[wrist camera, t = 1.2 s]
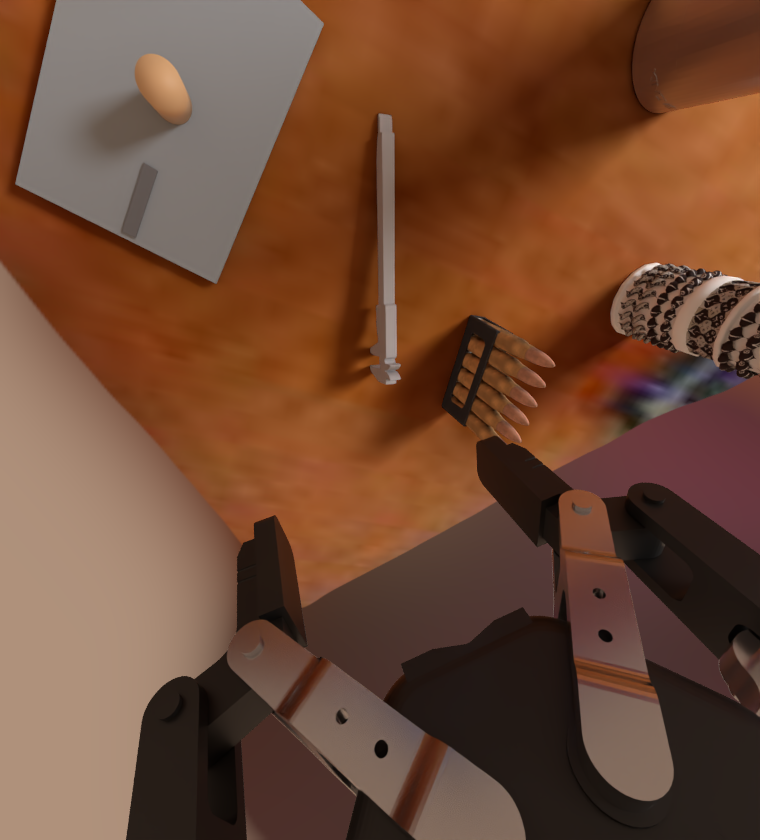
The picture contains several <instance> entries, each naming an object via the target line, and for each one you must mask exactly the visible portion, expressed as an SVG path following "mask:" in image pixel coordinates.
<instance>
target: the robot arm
mask: <svg viewBox="0 0 760 840" xmlns="http://www.w3.org/2000/svg"><path fill="white" fill-rule="evenodd" d="M632 77H633V84H634V89H635V93H636V95H637V97H638V100H639V102H640V103H641V104H642V105H643V107H644V108H645V109H647V110H649V111H650V112H653V113H664V112H669V111H674V110H679V109H684V108H689V107H693V106H698V105H703V104H709V103H714V102H718V101H723V100H728V99H733V98H737V97H742V96H747V95H752V94H756V93H760V0H651V2H650V4H649V6H648V8H647V10H646V12H645V14H644V16H643V19H642V22H641V25H640V27H639V30H638V33H637V37H636V42H635V46H634V52H633V62H632ZM476 449H477V472H478V476H479V478H480V481H481V482H482V484H483V485H484V487H485V488H486V489H487V490H488V491H489V492H490V494H491V495H492V496H493V497H494V498H495V499H496V500H497V502H498V503H499V504H500V505H501V506H502V507H503V508H504V510H505V511H506V512H507V513H508V514H509V515H510V517H511V518H512V519H513V520H514V521H515V522H516V523H517V525H518V526H519V527H520V528H521V529H522V530H523V531H524V533H525V534H526V535H527V536H528V537H529V538H530V539H531V541H532V542H533V543H534V544H535V545H536V546H537V547H539V546H541V545H543V544H546V543H548V544H549V545H550V546H551V547H552V567H553V568H552V570H553V591H554V611H553V617H547V616H529V615H528V614H527V613H526V611H525V610H524V608H520V609H518V610H516V611H514V612H512V613H509V614H507V615H505V616H503V617H501V618H499V619H496V620H494V621H493V622H492V623H491V624H490V625H489V626H488V627H487V628H485V629H484V630H483V631H482V632H481V633H480V634H479V635H478V636H477V637H475V638H474V639H473V640H472V641H471V642H470V643H468V644H464V645H458V646H451V647H445V648H438V649H432V650H430V651H428V652H426V653H424V654H421V655H419V656H417V657H415V658H413V659H411V660H409V661H406V662H404V663H402V664H401V666H402V669H403V672H404V675H402V676H401V677H400V678H399V679H398V680H397V681H396V682H395V683H394V685H393V686H392V687H391V689H390V690H389V691H388V693H387V694H386V696H385V698H384V700H383V701H382V700H381V699H380V698H378V697H377V696H376V695H374V694H373V693H371V692H370V691H369V690H368V689H366V688H365V687H364V686H362V685H361V684H359V683H358V682H357V681H355V680H354V679H353V678H351V677H350V676H349V675H347V674H346V673H345V672H343V671H342V670H341V669H339V668H338V667H337V666H335V665H334V664H333V663H331V662H330V661H328V660H327V659H325V658H323V657H320V658H317V657H315V656H314V655H312V654H311V653H310V652H309V651H307V650H306V649H305V647H307V646H308V645H307V639H306V633H305V626H304V620H303V614H302V607H301V601H300V594H299V588H298V582H297V575H296V569H295V562H294V557H293V553H292V549H291V546H290V544H289V541H288V539H287V537H286V535H285V533H284V531H283V529H282V527H281V525H280V523H279V521H278V519H277V517H276V516H275V515H274V516H272V517H269V518H266V519H263V520H261V521H258V522H255V523H254V539H252V540H250V541H247V542H244V543H243V545H242V547H241V550H240V552H239V554H238V557H237V571H238V573H237V582H238V585H237V631H236V634H235V635H234V637H233V639H232V640H231V642H230V644H229V647H228V650H227V652H226V653H225V654H224V655H223V656H222V657H221V658H220V660H218V661H217V662H216V663H215V664H213V665H212V666H211V667H209V668H208V669H207V670H206V671H204V672H203V673H202V674H200V675H199V676H198V677H197V678H195V679H193V678H191V677H187V676H182V677H178V678H175V679H173V680H171V681H169V682H168V683H166V684H165V685H164V686H163V687H161V688H160V689H159V690H158V691H157V693H156V694H155V695H154V696H153V698H152V699H151V700H150V702H149V704H148V706H147V708H146V710H145V712H144V716H143V719H142V725H141V733H140V740H139V747H138V755H137V762H136V771H135V777H134V785H133V792H132V801H131V807H130V815H129V823H128V830H127V837H126V840H247V835H246V818H245V800H244V782H243V765H242V748H241V739H243V738H244V737H245V736H246V735H247V734H248V733H249V732H250V731H251V730H253V729H254V728H255V727H256V726H257V725H258V724H259V723H260V722H261V721H262V720H263V719H265V718H266V717H267V716H268V715H269V714H270V713H272V714H273V715H274V716H275V717H276V718H277V719H278V720H279V721H280V722H281V723H282V724H283V725H284V726H285V727H286V728H287V729H288V730H289V731H290V732H291V733H292V734H294V735H295V736H296V737H297V738H298V739H299V740H300V741H301V742H302V743H303V744H304V745H305V746H306V747H307V748H308V749H309V750H310V751H311V752H312V753H313V754H314V755H315V756H316V757H317V758H318V759H319V760H320V761H321V762H322V763H323V764H324V765H325V766H326V767H327V768H328V769H329V770H330V771H331V772H332V773H333V774H334V775H335V776H336V777H337V778H338V779H339V780H340V781H341V782H342V783H343V784H344V785H345V786H347V788H348V789H349V790H351V791H352V792H353V793H354V794H355V795H356V796H357V797H356V801H355V805H354V809H353V813H352V817H351V821H350V825H349V829H348V833H347V837H346V840H760V555H759V554H758V553H756V552H755V551H754V550H752V549H751V548H750V547H748V546H747V545H746V544H744V543H743V542H741V541H740V540H739V539H737V538H736V537H734V536H733V535H732V534H730V533H729V532H727V531H726V530H725V529H723V528H722V527H721V526H719V525H718V524H717V523H715V522H714V521H712V520H711V519H710V518H708V517H707V516H705V515H704V514H702V513H701V512H700V511H698V510H697V509H696V508H694V507H693V506H691V505H690V504H689V503H687V502H686V501H685V500H683V499H682V498H680V497H679V496H677V495H676V494H675V493H673V492H672V491H670V490H669V489H667V488H665V487H663V486H660V485H657V484H653V483H638V484H635V485H633V486H631V487H630V488H629V490H628V494H627V496H622V497H612V498H599V497H598V496H596V495H594V494H593V493H590V492H588V491H583V490H574V489H572V488H571V487H570V486H569V485H567V484H566V483H565V482H564V481H563V480H562V479H560V478H559V477H558V476H557V475H556V474H555V473H553V472H552V471H551V470H550V469H549V468H548V467H546V466H545V465H543V463H542V462H541V461H539V460H538V459H537V458H535V456H534V455H532V454H531V453H530V452H529V451H528V450H527V449H525V448H523V447H521V446H518V445H516V444H513V443H511V444H508V445H507V444H506V443H505V442H504V441H503V440H501V439H500V438H499V437H498V436H492V437H489V438H487V439H484V440H481V441H478V442H477V445H476ZM624 563H625V564H626V565H627V566H628V567H629V568H630V569H631V570H632V571H633V572H634V573H635V575H636V576H637V577H639V578H640V579H641V581H642V582H643V583H644V584H645V585H646V586H647V587H648V588H649V589H650V590H651V591H652V592H653V593H654V594H655V595H656V596H657V597H658V598H659V599H660V600H661V601H662V602H663V603H664V604H665V605H666V606H667V607H668V608H669V609H670V610H671V611H672V612H673V613H674V614H675V615H676V616H677V617H678V618H679V619H680V620H681V621H682V622H683V623H684V624H685V625H686V626H687V627H688V628H689V629H690V631H691V632H692V633H694V635H695V636H696V637H697V638H698V639H699V640H700V641H701V642H702V643H703V644H704V645H705V646H706V647H707V648H708V649H709V650H710V651H711V652H712V653H713V654H714V655H715V656H716V657H717V658H718V659H719V669H720V672H721V675H722V677H723V679H724V680H725V682H726V683H727V685H728V686H729V690H730V692H731V694H732V695H733V697H734V698H735V699H736V700H738V701H739V702H740V703H737V702H736V701H734V700H732V699H730V698H728V697H726V696H724V695H722V694H719V693H718V692H715V691H713V690H711V689H709V688H707V687H705V686H703V685H701V684H698V683H696V682H694V681H692V680H690V679H688V678H686V677H684V676H681V675H679V674H677V673H675V672H673V671H671V670H669V669H667V668H664V667H662V666H660V665H658V664H656V663H654V662H652V661H650V660H648V659H645V657H644V653H643V648H642V643H641V639H640V634H639V630H638V625H637V620H636V616H635V612H634V607H633V603H632V597H631V593H630V588H629V584H628V579H627V574H626V570H625V565H624Z"/></svg>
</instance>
